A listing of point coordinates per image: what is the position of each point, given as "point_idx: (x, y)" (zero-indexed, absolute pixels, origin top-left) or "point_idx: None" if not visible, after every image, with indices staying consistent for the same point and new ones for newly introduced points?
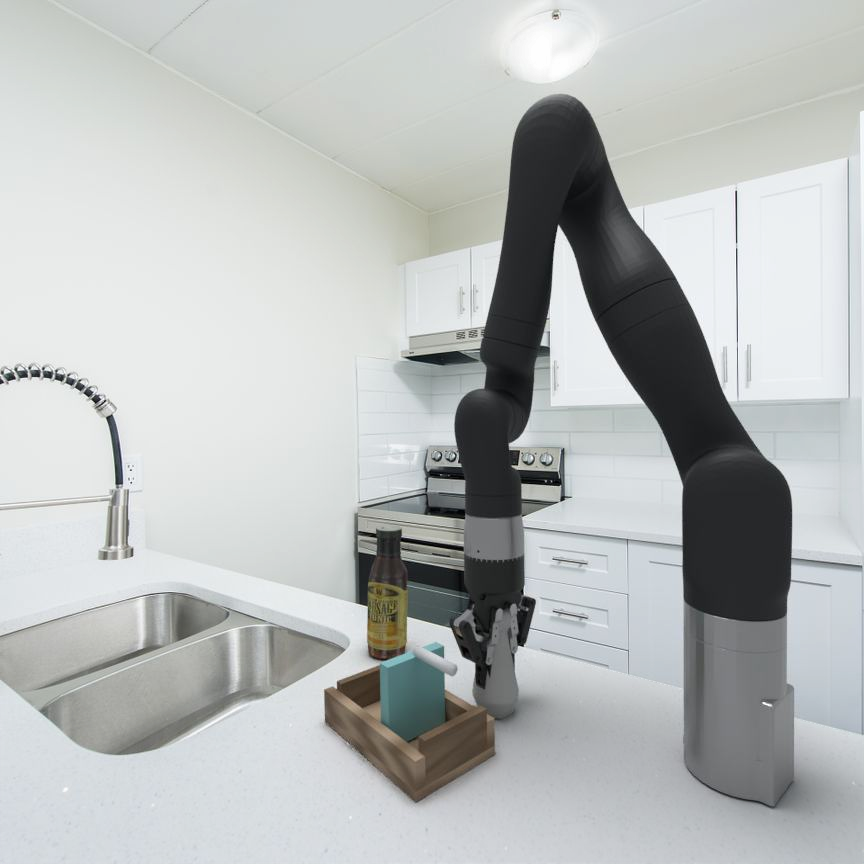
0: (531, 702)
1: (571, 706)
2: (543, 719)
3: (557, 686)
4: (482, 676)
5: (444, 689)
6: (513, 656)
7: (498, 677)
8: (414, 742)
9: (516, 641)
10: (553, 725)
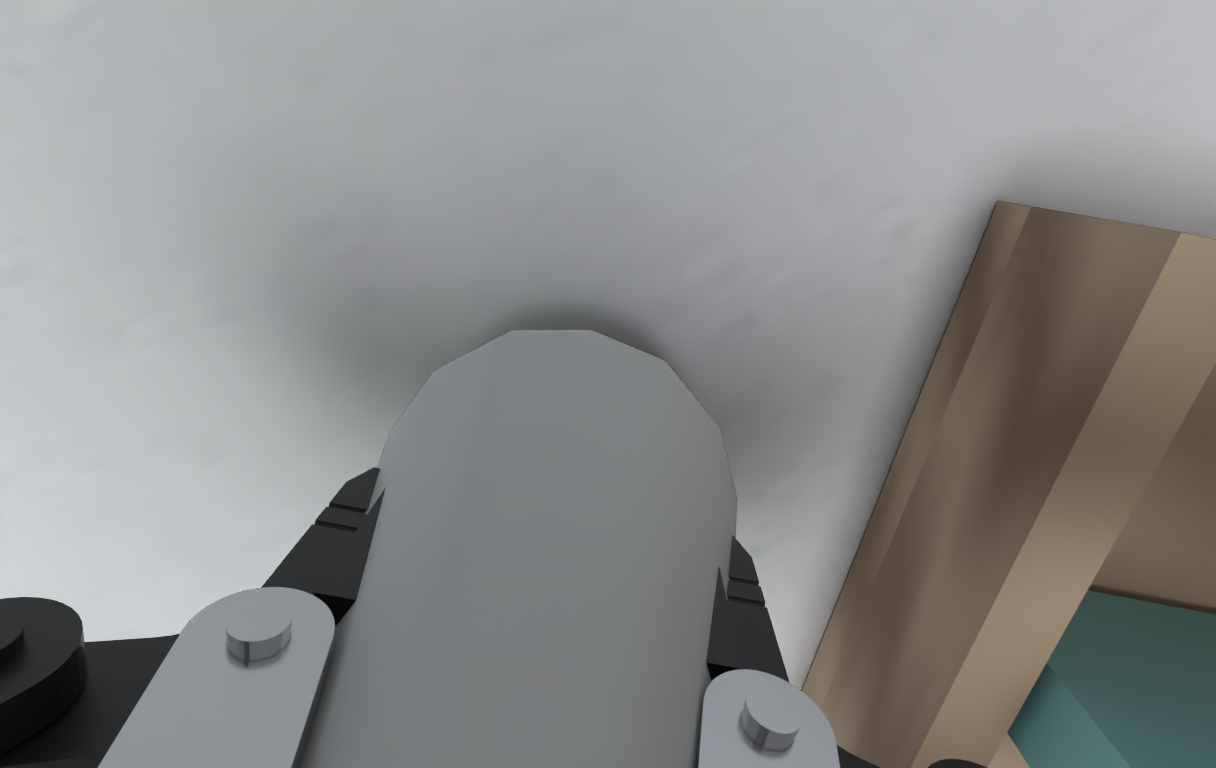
0: (339, 302)
1: (167, 35)
2: (461, 132)
3: (25, 254)
4: (767, 628)
5: (1112, 746)
6: (287, 582)
7: (680, 512)
8: (1201, 590)
9: (152, 707)
10: (479, 32)
